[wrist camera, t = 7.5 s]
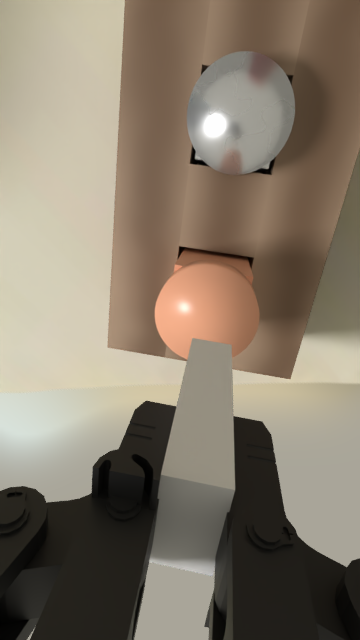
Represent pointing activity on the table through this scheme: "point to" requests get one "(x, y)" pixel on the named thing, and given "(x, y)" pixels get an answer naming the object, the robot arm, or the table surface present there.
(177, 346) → the terracotta button
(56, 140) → the table surface
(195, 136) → the grey button
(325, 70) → the button console
